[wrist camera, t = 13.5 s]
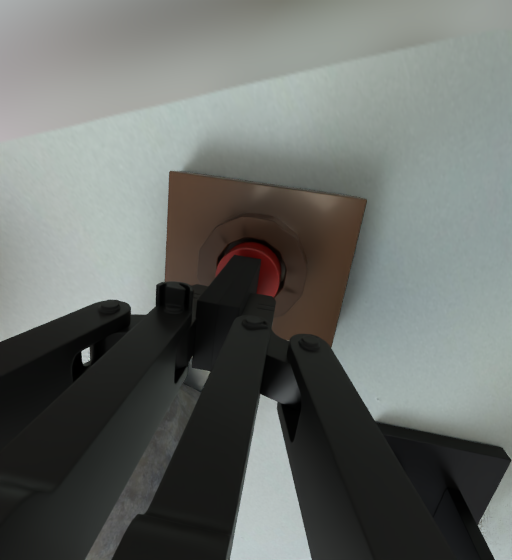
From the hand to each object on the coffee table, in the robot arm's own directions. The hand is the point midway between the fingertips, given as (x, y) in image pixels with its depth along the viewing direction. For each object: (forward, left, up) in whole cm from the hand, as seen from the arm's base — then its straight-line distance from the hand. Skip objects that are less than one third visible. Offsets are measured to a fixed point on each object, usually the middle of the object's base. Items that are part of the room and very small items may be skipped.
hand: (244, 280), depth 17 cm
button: (0, 0, -2) cm, 2 cm away
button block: (0, 0, -6) cm, 6 cm away
